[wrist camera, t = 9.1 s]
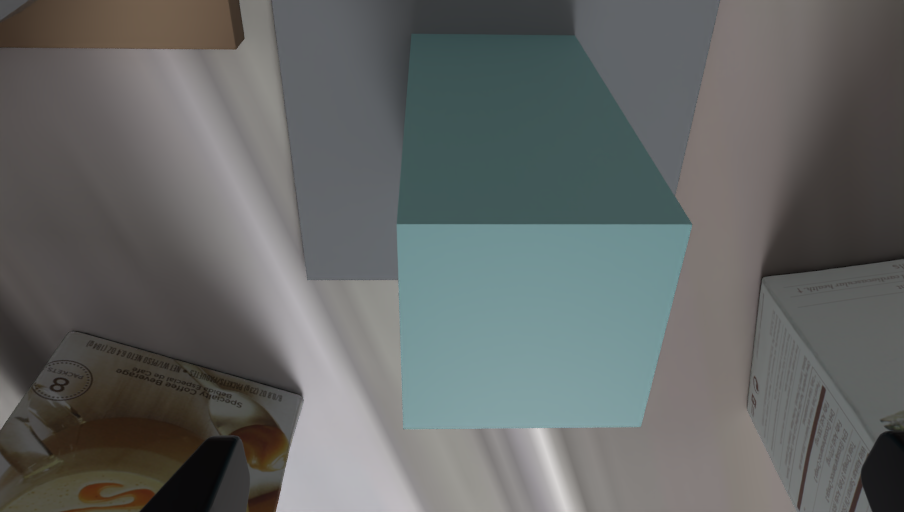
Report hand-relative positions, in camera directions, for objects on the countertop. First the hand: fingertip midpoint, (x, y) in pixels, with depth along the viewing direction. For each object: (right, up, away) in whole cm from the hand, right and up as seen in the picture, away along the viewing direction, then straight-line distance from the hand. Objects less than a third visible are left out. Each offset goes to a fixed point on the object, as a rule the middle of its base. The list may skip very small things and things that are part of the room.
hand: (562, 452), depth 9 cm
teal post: (0, +7, +10) cm, 12 cm away
